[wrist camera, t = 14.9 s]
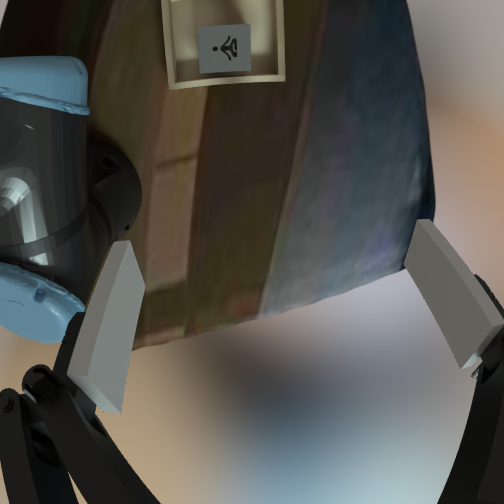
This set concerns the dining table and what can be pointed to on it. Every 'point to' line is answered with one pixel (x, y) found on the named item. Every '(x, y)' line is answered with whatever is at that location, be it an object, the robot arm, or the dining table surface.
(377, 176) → the dining table surface
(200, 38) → the dice cube
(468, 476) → the robot arm
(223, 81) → the trough
